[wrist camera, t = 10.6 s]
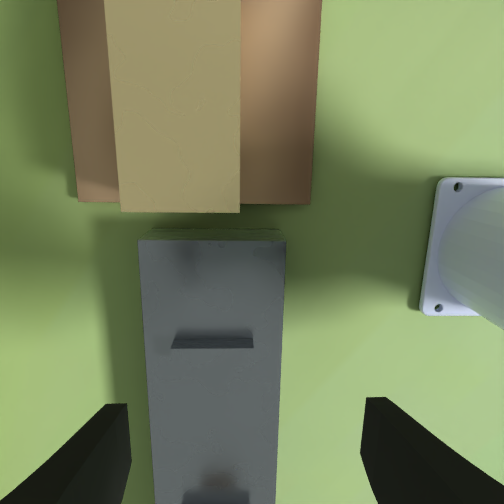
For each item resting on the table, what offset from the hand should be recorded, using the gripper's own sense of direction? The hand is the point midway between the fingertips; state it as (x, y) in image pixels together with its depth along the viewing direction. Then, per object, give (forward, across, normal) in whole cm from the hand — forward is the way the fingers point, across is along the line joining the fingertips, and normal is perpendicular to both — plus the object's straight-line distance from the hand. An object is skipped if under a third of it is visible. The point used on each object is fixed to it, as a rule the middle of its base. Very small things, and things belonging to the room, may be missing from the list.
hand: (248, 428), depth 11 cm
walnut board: (+10, +2, -11) cm, 15 cm away
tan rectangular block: (+10, +2, -10) cm, 14 cm away
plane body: (+10, +1, +7) cm, 13 cm away
